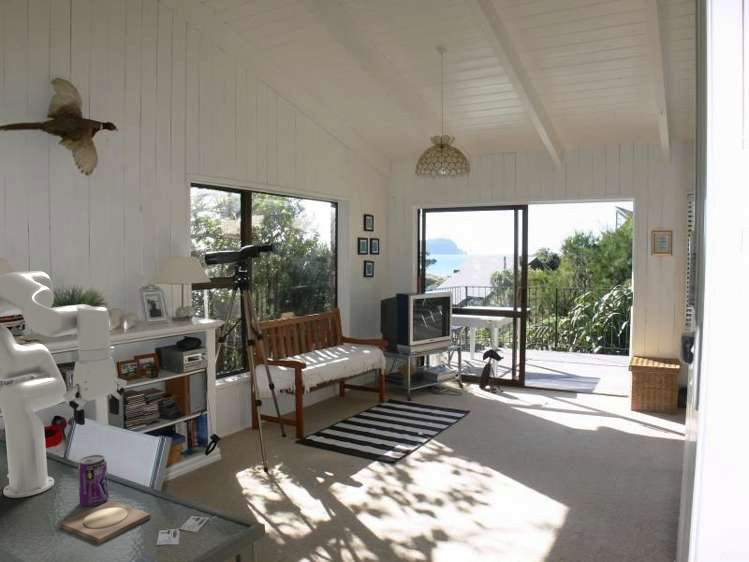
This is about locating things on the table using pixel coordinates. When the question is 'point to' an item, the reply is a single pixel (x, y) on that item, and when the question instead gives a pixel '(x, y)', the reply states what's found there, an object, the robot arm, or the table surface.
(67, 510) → the table surface
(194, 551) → the table surface
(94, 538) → the board
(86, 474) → the beverage can
